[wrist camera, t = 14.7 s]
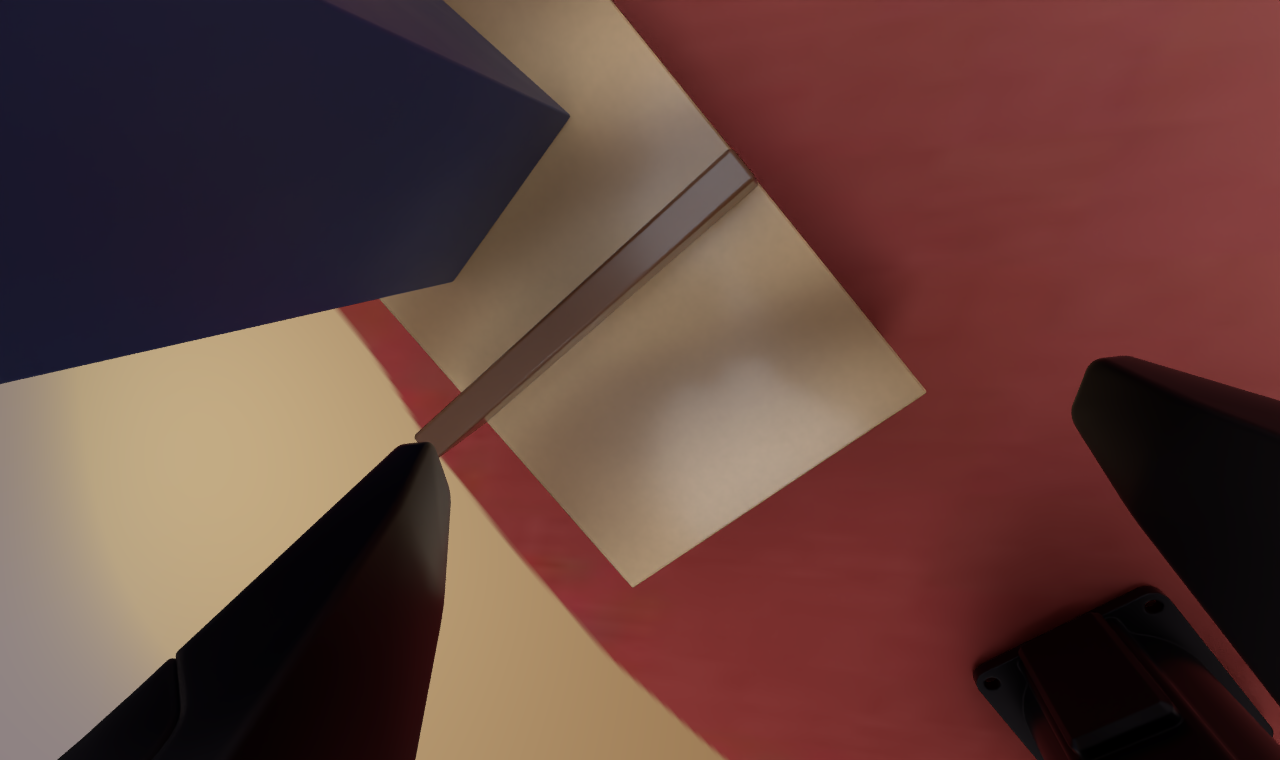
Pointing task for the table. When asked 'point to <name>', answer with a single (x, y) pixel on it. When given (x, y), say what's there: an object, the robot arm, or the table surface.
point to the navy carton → (241, 164)
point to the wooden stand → (644, 308)
